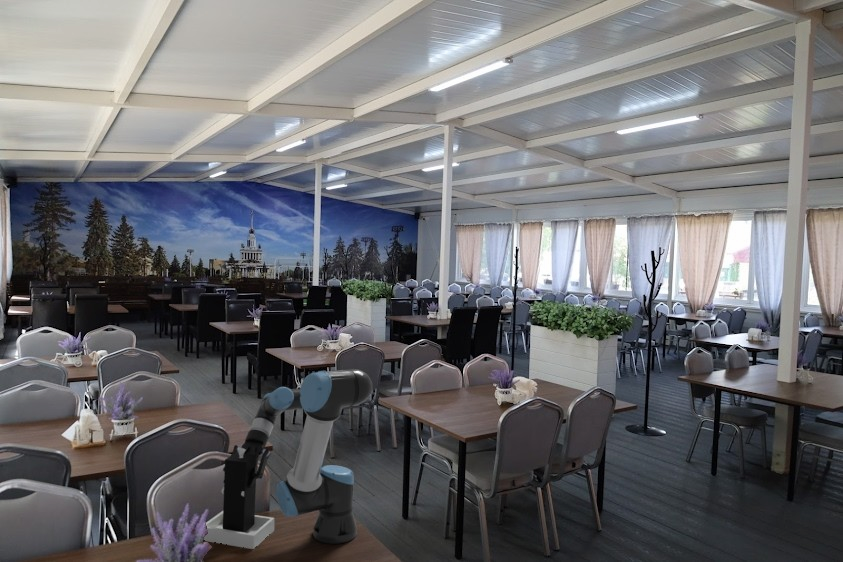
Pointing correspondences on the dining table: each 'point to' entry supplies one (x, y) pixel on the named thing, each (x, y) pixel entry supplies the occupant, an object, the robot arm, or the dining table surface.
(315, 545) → the dining table surface
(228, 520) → the black tall block
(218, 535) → the tray
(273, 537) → the dining table surface
